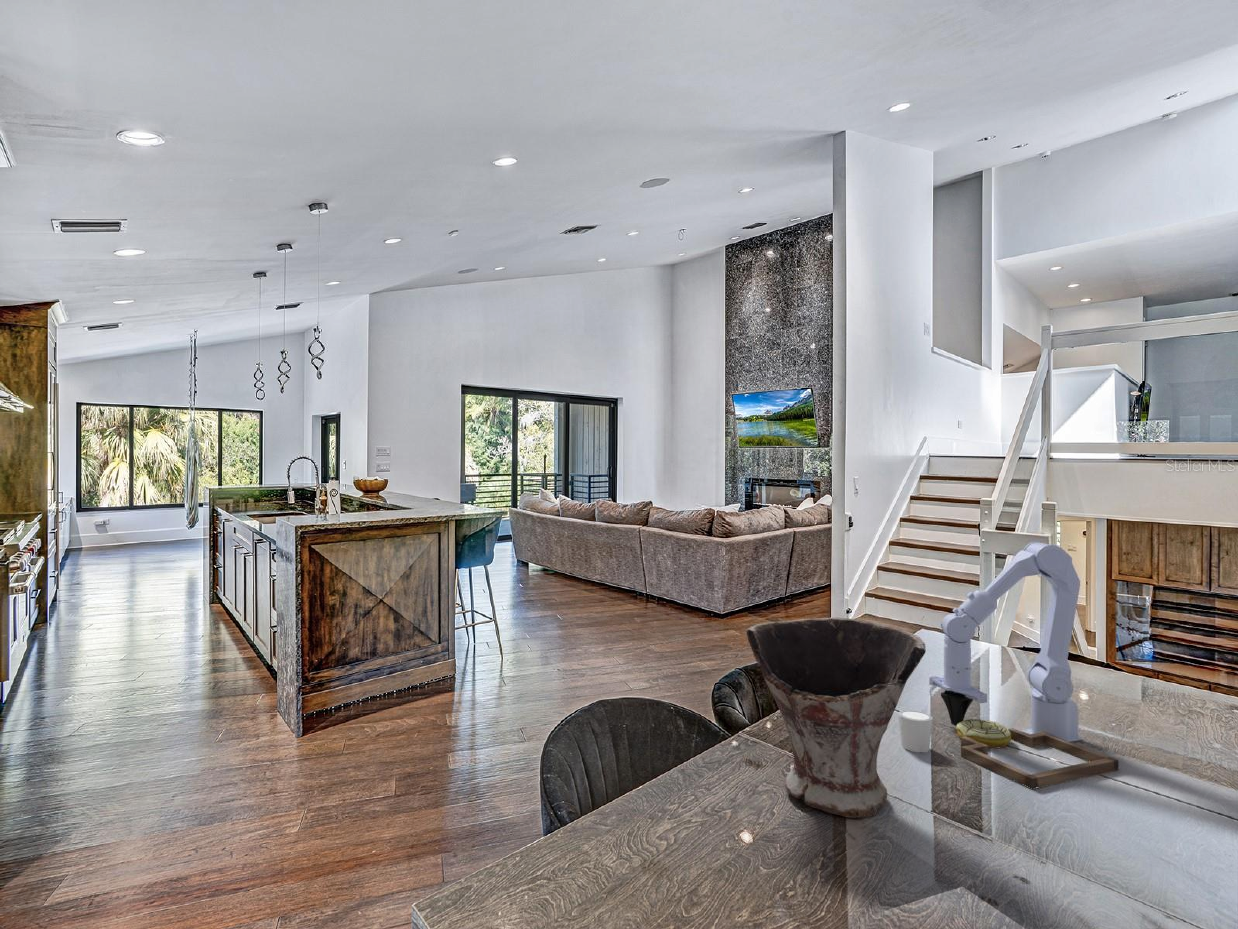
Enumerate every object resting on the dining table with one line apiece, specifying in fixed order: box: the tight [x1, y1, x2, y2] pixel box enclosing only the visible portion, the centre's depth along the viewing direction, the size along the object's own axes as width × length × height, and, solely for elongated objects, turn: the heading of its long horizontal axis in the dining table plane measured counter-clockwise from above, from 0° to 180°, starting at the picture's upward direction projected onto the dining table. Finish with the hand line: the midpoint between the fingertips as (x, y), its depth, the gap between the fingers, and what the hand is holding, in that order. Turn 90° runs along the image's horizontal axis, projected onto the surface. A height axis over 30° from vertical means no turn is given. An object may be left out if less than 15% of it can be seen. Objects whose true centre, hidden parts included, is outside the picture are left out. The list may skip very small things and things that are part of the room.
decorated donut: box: [956, 718, 1012, 749], centre depth 152 cm, size 10×11×4 cm
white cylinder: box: [898, 709, 934, 754], centre depth 147 cm, size 7×7×7 cm
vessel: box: [746, 617, 926, 819], centre depth 125 cm, size 30×27×30 cm
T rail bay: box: [960, 727, 1120, 790], centre depth 142 cm, size 20×25×2 cm
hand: (956, 724), depth 159 cm, fingers closed
